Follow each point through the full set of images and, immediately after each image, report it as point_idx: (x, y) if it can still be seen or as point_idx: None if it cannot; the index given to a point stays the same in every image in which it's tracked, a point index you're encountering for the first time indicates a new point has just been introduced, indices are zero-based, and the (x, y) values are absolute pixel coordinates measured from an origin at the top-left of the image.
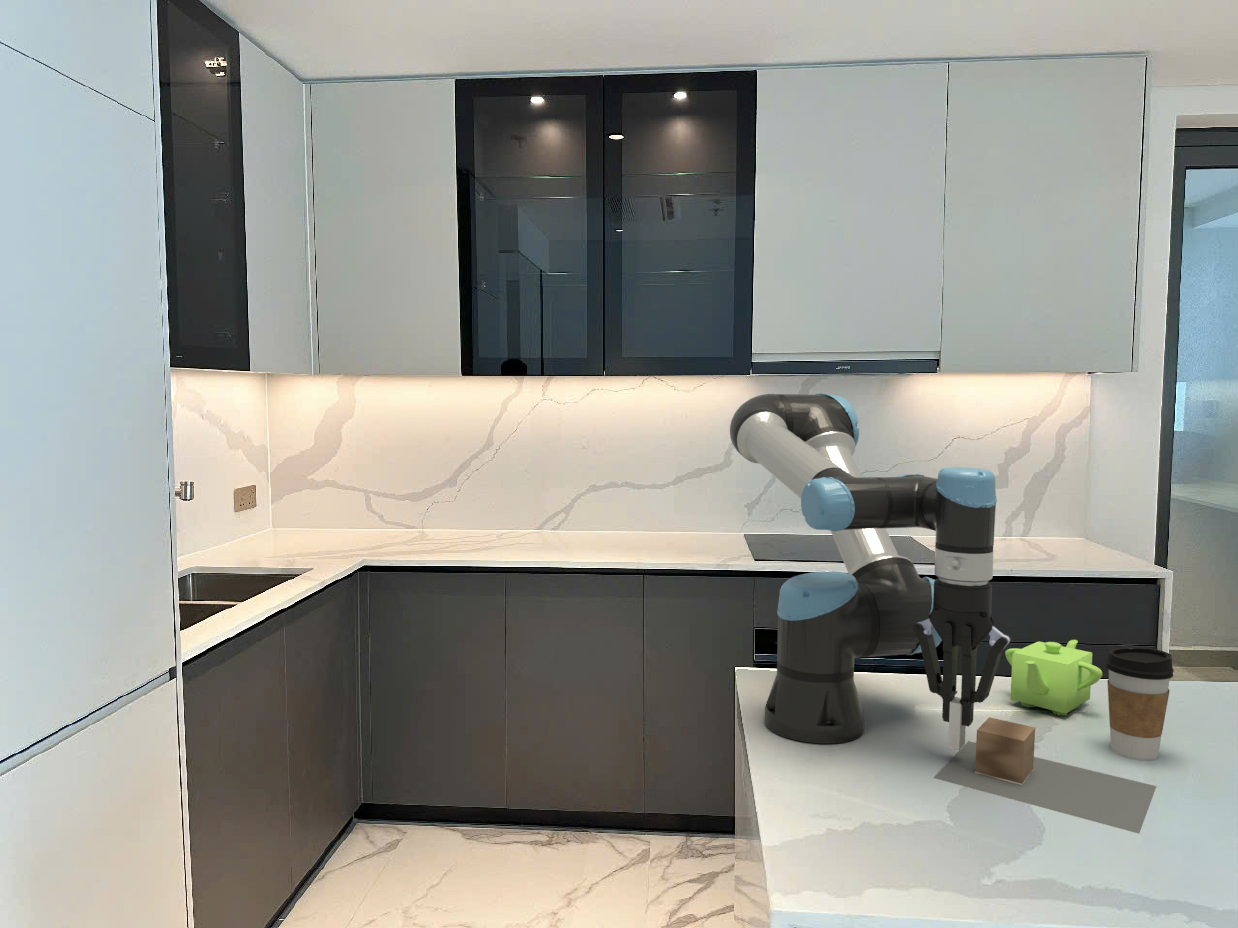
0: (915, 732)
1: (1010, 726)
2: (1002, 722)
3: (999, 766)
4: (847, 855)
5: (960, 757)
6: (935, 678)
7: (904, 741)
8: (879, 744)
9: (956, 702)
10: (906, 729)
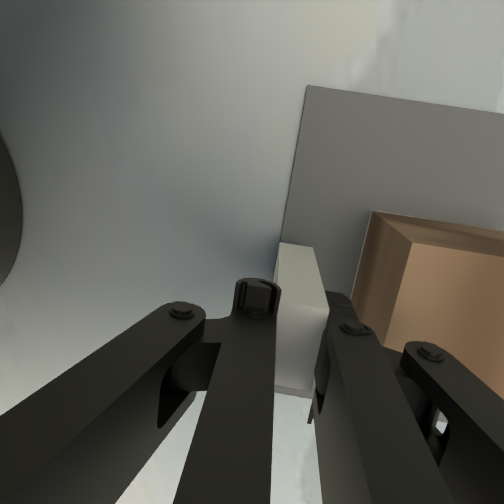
0: (142, 81)
1: (494, 307)
2: (465, 279)
3: None
4: None
5: (299, 236)
6: (164, 438)
7: (135, 178)
8: (85, 236)
9: (290, 375)
10: (111, 69)
